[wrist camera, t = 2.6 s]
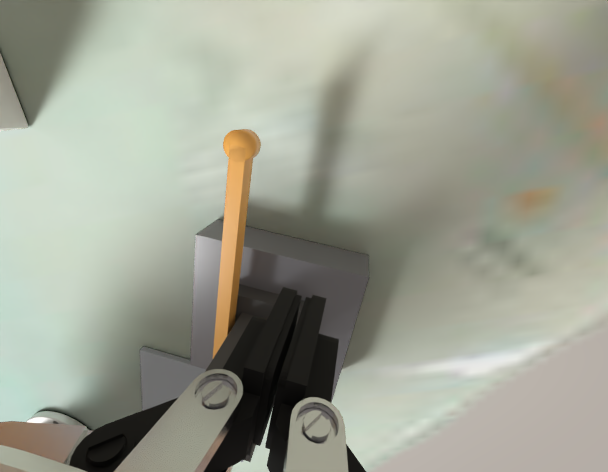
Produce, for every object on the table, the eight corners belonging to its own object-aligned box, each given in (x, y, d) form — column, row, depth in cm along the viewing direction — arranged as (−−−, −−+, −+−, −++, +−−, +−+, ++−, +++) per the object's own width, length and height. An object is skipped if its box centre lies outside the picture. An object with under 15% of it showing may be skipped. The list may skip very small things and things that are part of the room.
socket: (328, 393, 33) (321, 442, 28) (207, 358, 35) (180, 399, 30) (368, 255, 27) (369, 287, 22) (217, 219, 28) (185, 241, 23)
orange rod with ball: (232, 420, 29) (225, 435, 27) (206, 412, 29) (198, 427, 28) (268, 133, 19) (260, 134, 17) (228, 125, 19) (217, 125, 18)
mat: (244, 457, 40) (242, 461, 39) (146, 425, 41) (143, 429, 41) (257, 379, 34) (255, 383, 34) (143, 346, 36) (139, 349, 35)
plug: (305, 347, 30) (270, 484, 19) (237, 328, 31) (165, 450, 19) (319, 286, 27) (288, 405, 16) (244, 267, 28) (165, 368, 17)
